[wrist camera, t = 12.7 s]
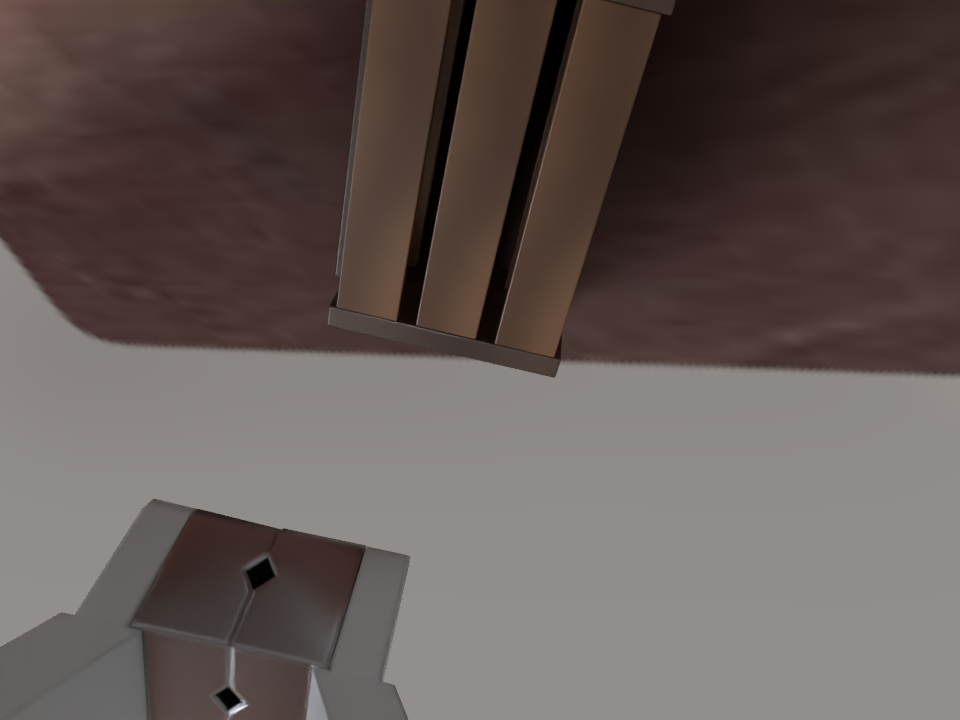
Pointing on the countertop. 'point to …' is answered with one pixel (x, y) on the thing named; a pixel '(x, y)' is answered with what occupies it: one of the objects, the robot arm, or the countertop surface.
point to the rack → (481, 171)
